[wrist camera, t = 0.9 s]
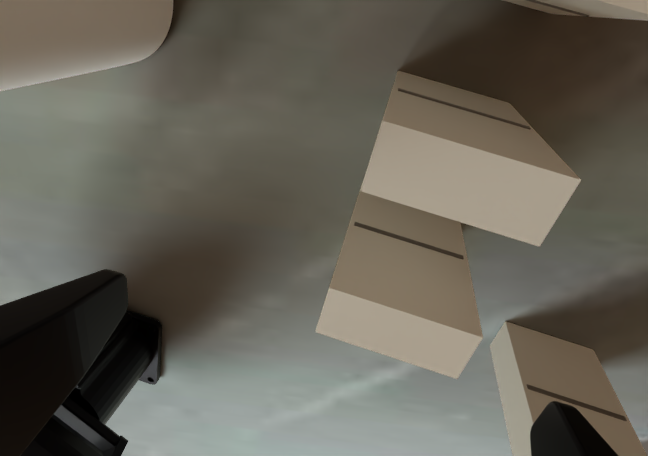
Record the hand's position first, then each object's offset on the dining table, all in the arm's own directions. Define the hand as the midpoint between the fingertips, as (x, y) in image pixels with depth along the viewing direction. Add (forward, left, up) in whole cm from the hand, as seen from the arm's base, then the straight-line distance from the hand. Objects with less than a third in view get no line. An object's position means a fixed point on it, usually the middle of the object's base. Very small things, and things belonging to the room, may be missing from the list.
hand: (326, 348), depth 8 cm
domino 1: (+3, -2, -13) cm, 14 cm away
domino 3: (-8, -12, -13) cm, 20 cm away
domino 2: (-3, -2, -13) cm, 14 cm away
